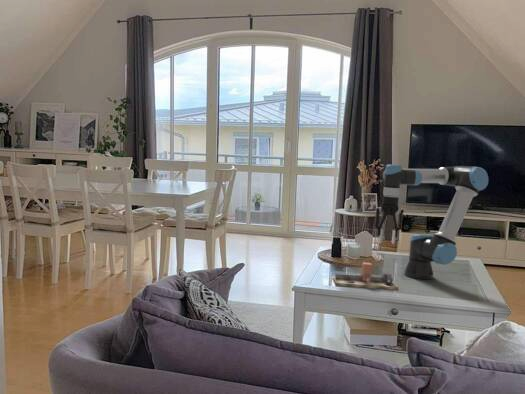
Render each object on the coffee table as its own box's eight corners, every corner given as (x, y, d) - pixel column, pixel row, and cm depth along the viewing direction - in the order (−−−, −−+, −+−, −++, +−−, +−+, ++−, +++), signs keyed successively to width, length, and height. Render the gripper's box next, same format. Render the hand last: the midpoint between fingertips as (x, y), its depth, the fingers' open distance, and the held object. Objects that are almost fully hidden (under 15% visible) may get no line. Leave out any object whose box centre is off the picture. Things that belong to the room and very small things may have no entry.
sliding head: (368, 279, 243) (370, 262, 242) (372, 283, 235) (373, 266, 234) (360, 278, 243) (362, 262, 242) (363, 282, 235) (365, 265, 234)
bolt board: (391, 283, 244) (392, 280, 244) (398, 289, 232) (398, 287, 232) (332, 278, 244) (332, 276, 244) (335, 285, 232) (335, 282, 232)
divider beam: (390, 284, 242) (391, 273, 242) (394, 288, 235) (395, 276, 234) (334, 279, 242) (335, 269, 242) (336, 283, 235) (337, 272, 235)
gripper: (407, 196, 240) (403, 243, 242) (370, 194, 240) (365, 240, 242) (412, 198, 233) (407, 245, 235) (373, 195, 233) (369, 243, 235)
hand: (386, 242), depth 239 cm, fingers open, 6 cm apart
